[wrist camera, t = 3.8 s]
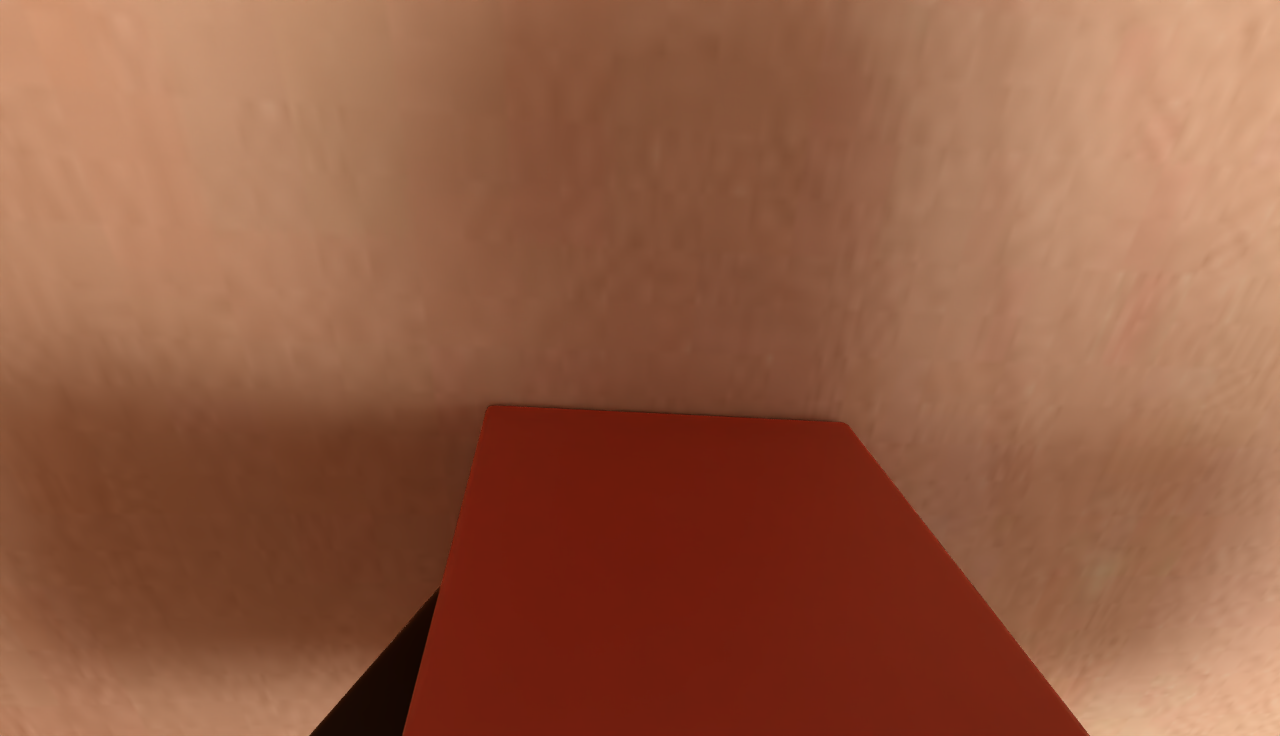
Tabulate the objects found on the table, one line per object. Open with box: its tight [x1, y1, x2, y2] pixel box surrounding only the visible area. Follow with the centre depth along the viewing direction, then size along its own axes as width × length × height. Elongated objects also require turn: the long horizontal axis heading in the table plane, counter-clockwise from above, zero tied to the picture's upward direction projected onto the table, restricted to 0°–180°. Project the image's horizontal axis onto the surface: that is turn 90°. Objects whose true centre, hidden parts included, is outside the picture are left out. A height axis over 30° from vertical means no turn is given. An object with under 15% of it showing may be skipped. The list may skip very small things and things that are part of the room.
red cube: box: [402, 405, 1090, 736], centre depth 8 cm, size 5×5×5 cm
